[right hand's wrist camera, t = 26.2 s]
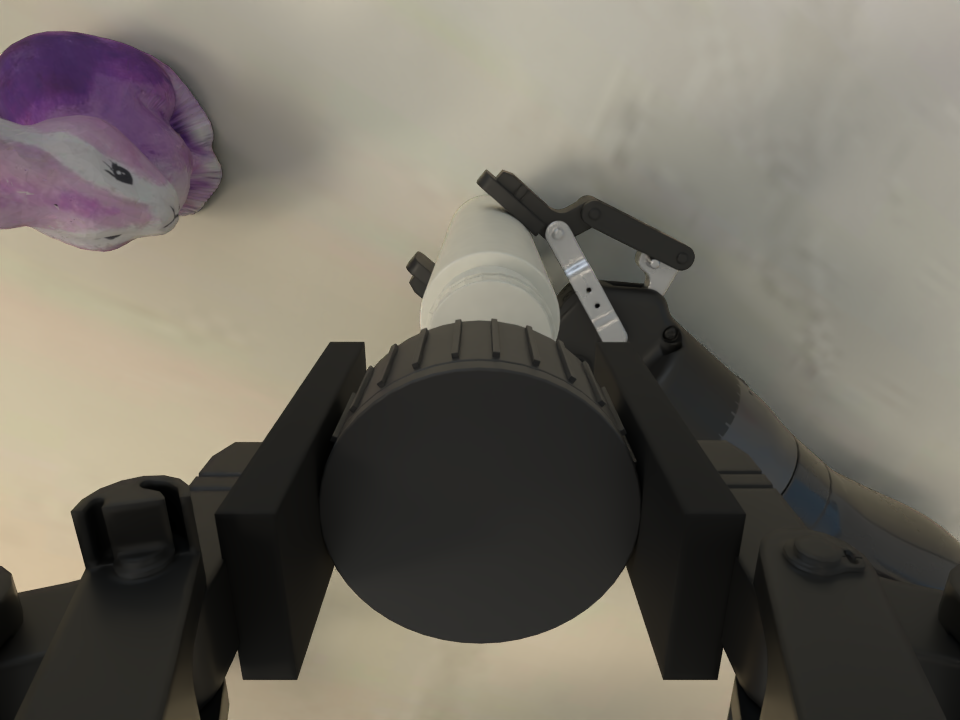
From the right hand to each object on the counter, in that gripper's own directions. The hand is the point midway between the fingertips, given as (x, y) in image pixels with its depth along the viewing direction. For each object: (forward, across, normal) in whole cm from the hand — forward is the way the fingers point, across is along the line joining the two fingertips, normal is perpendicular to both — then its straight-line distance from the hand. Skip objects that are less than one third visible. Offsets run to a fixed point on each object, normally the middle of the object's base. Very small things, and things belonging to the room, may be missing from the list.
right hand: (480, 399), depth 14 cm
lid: (-4, 0, 0) cm, 4 cm away
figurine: (+25, -18, +5) cm, 31 cm away
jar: (+24, 0, 0) cm, 24 cm away
